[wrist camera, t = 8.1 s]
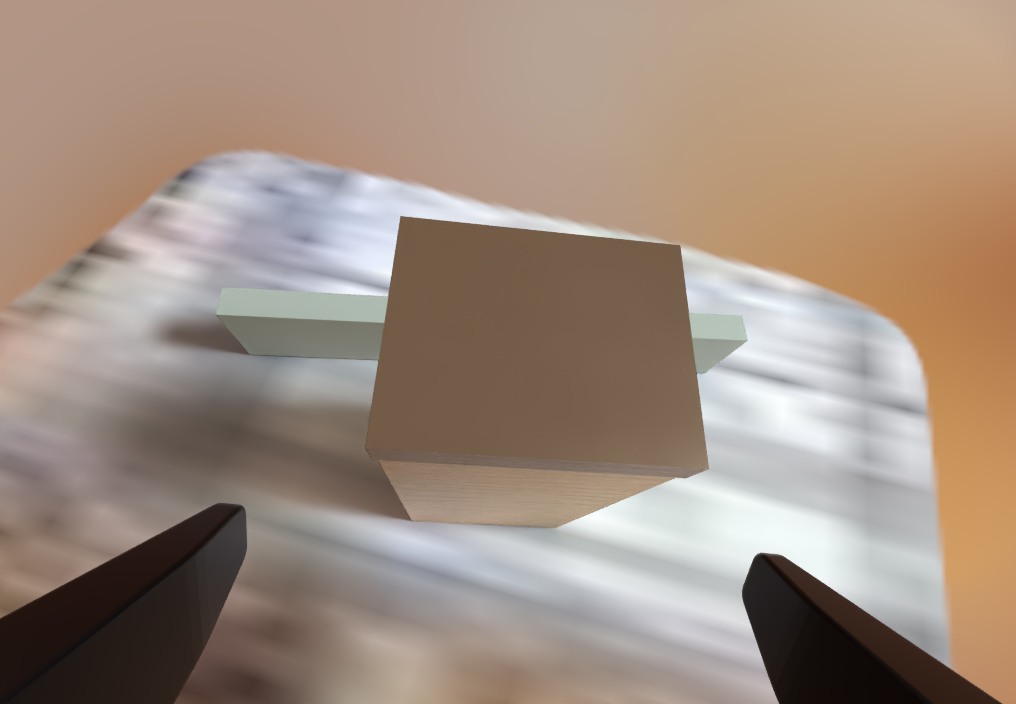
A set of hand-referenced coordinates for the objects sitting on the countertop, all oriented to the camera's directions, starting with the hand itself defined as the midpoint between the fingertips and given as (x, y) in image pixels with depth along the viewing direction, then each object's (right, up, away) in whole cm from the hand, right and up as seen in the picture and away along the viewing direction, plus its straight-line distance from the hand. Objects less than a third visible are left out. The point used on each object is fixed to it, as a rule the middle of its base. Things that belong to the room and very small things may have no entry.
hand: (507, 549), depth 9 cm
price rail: (-1, +3, +11) cm, 12 cm away
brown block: (-1, -1, +10) cm, 10 cm away
